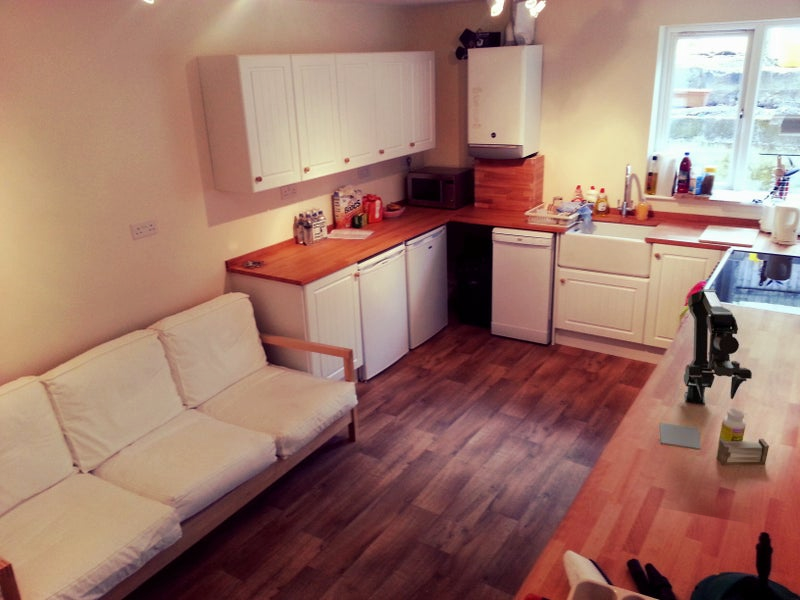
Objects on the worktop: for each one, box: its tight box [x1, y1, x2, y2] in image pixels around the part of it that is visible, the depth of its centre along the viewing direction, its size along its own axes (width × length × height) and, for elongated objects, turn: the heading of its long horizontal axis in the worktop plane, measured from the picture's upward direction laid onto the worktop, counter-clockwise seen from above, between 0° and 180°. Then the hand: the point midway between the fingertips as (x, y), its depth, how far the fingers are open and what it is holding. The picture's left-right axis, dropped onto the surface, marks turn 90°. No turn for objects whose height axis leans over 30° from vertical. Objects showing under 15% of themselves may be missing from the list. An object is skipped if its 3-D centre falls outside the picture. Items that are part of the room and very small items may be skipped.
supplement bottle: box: [718, 408, 747, 443], centre depth 210 cm, size 7×7×13 cm
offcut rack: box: [716, 438, 770, 467], centre depth 204 cm, size 4×13×7 cm, turn 88°
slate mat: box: [659, 422, 701, 450], centre depth 218 cm, size 12×12×1 cm
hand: (716, 398), depth 212 cm, fingers open, 9 cm apart
